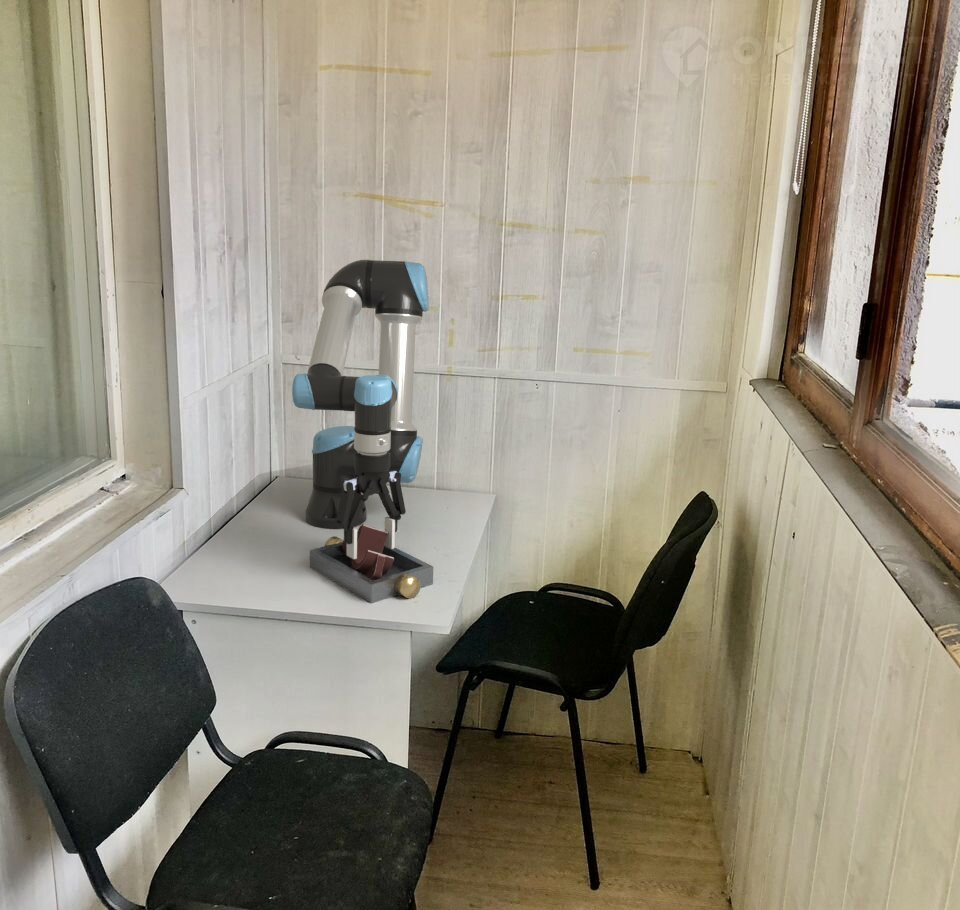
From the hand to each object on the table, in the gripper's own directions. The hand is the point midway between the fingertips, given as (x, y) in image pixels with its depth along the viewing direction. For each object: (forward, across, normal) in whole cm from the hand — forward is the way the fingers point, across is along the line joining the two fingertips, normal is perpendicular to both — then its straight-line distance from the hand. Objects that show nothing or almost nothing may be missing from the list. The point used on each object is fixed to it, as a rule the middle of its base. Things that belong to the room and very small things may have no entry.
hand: (370, 551), depth 197 cm
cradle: (+5, 0, 0) cm, 5 cm away
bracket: (+5, 0, 0) cm, 5 cm away
